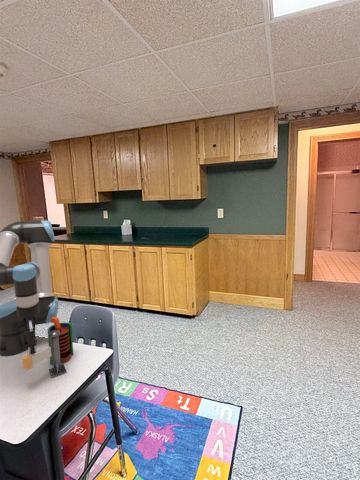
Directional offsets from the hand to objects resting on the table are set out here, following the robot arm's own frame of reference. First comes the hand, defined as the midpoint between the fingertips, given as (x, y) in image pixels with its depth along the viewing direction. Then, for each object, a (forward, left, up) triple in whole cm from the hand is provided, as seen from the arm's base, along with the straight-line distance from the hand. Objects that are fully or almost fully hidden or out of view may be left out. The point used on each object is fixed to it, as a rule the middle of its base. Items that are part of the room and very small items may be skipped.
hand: (33, 359), depth 105 cm
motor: (-10, +12, -10) cm, 18 cm away
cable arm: (+2, +1, -1) cm, 2 cm away
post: (-1, +9, -10) cm, 13 cm away
